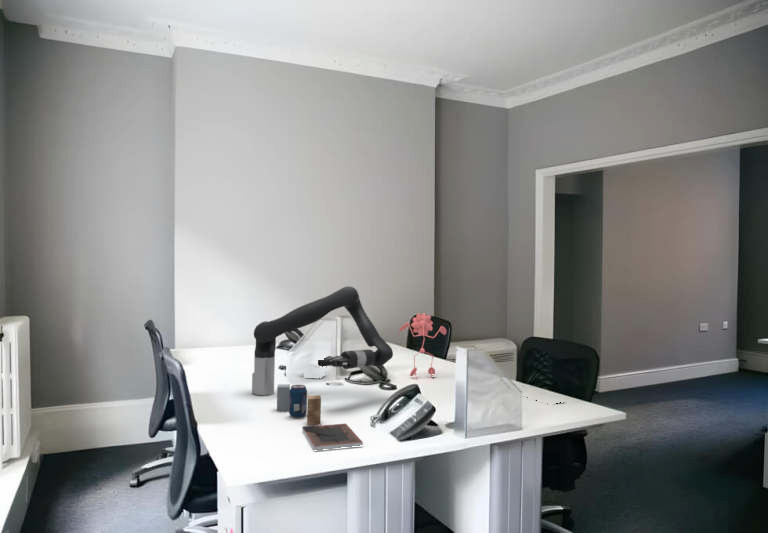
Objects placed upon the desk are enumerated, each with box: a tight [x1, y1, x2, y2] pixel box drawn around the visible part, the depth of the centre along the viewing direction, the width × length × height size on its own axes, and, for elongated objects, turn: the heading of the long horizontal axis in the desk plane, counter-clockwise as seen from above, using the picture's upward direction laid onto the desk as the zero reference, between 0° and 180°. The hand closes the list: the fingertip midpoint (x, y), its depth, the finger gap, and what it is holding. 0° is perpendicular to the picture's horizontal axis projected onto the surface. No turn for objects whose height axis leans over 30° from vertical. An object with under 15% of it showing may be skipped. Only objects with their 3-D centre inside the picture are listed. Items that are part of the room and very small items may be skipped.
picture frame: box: [301, 423, 364, 451], centre depth 190 cm, size 16×2×22 cm
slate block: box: [276, 383, 291, 412], centre depth 225 cm, size 5×5×10 cm
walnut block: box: [306, 394, 322, 426], centre depth 208 cm, size 5×5×10 cm
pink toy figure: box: [398, 312, 447, 378], centre depth 296 cm, size 15×26×35 cm, turn 102°
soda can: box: [288, 384, 308, 419], centre depth 216 cm, size 7×7×12 cm
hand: (319, 363), depth 223 cm, fingers closed
